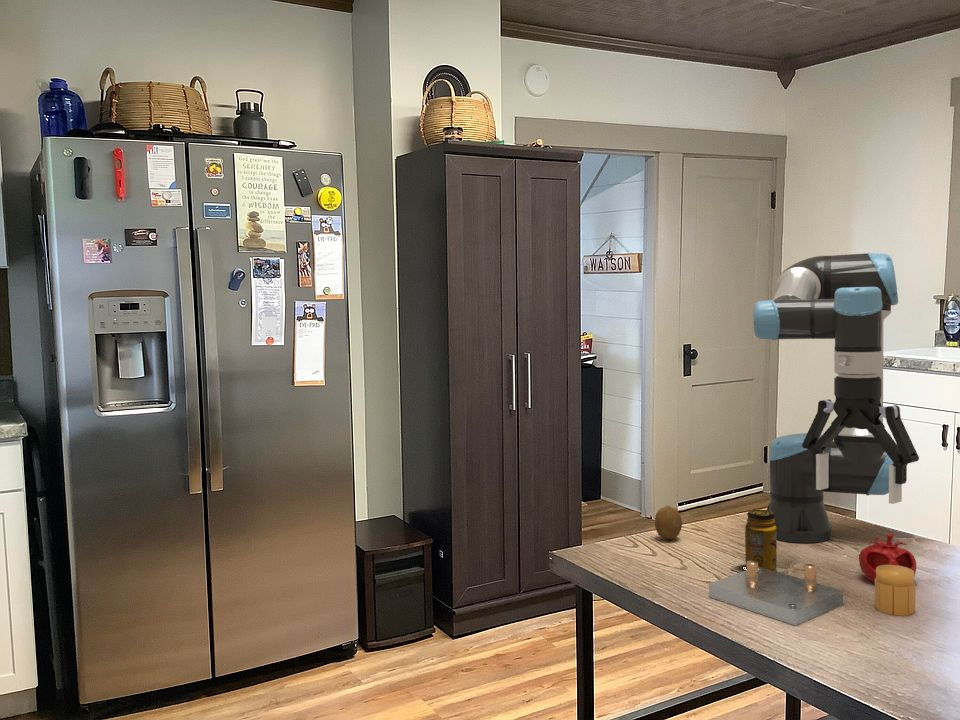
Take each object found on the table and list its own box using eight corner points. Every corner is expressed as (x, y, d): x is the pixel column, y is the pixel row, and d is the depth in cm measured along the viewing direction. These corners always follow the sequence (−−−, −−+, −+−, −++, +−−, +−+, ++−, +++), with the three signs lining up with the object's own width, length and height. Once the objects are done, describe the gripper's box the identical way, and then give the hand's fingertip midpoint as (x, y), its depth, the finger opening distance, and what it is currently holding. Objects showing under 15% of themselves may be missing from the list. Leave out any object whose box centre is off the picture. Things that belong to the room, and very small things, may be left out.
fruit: (684, 543, 187) (684, 508, 186) (657, 543, 187) (657, 509, 187) (679, 535, 193) (678, 502, 193) (652, 536, 193) (652, 502, 193)
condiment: (786, 570, 167) (785, 512, 166) (759, 579, 162) (758, 520, 161) (756, 561, 173) (755, 505, 172) (729, 570, 168) (728, 512, 167)
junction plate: (757, 578, 162) (756, 544, 162) (843, 604, 148) (843, 566, 148) (708, 596, 154) (708, 560, 153) (795, 625, 139) (795, 585, 139)
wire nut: (886, 600, 149) (886, 562, 149) (920, 609, 144) (920, 570, 144) (869, 608, 146) (869, 569, 145) (903, 618, 141) (903, 578, 140)
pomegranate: (856, 572, 165) (855, 526, 165) (911, 575, 162) (910, 528, 162) (862, 587, 156) (862, 539, 156) (921, 591, 153) (920, 541, 152)
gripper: (782, 373, 151) (782, 486, 153) (918, 381, 131) (917, 512, 132) (806, 370, 156) (806, 480, 157) (942, 377, 135) (940, 504, 136)
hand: (857, 495), depth 145 cm, fingers open, 13 cm apart
